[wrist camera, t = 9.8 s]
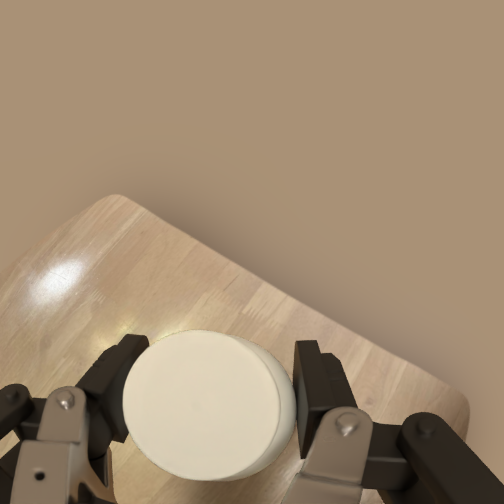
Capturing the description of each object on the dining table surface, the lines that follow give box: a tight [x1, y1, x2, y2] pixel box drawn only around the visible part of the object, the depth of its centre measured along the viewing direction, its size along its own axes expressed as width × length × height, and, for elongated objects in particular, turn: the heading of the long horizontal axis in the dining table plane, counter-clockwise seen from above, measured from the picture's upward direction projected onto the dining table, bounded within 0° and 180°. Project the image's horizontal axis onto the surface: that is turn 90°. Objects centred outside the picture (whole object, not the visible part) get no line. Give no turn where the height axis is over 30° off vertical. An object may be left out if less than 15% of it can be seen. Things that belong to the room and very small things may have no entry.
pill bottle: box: [123, 330, 297, 482], centre depth 10 cm, size 5×5×10 cm
